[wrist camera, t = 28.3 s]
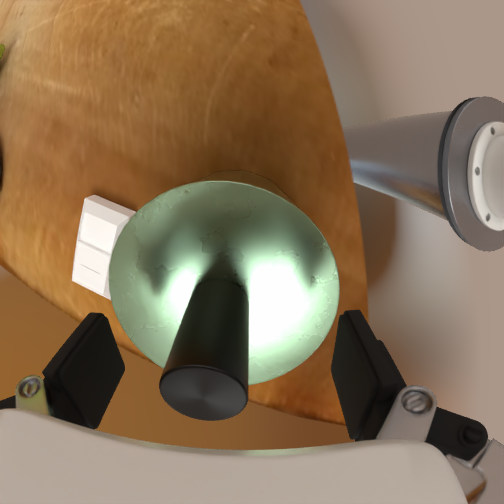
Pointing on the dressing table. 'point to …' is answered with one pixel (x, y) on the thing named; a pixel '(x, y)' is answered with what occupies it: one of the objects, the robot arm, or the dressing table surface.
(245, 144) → the dressing table surface
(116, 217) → the soap bar
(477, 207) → the robot arm
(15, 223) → the dressing table surface
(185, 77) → the dressing table surface
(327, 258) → the tin lid
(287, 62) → the dressing table surface
